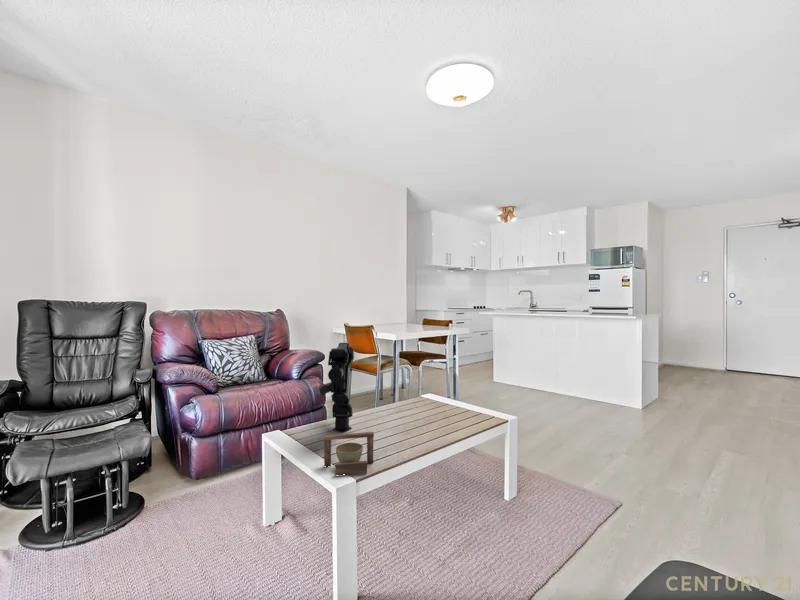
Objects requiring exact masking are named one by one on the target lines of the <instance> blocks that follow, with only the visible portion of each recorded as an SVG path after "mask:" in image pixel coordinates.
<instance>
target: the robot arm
mask: <svg viewBox="0 0 800 600" xmlns="http://www.w3.org/2000/svg"><path fill="white" fill-rule="evenodd" d="M353 360H355V352H354V348H353V347H352V346H351V345H350V343H349V342H338V346H336V348H335V347H333V348H331V349H330V350H329V354H328V362H327V365H328V366H331V368H330V370H329V371H328V373H327V377H328V379H329V380H330V382H327V383H325V384H322V385H319V386H318V390H319V394H320V395H321V396H324V395H326V394H327V393H332V394H331V395H330V396H331V402H333V404H332V407H331V410H332V412H331V413H332V418H333V419H334V418H335V421H334V427H333V428H332V430H333V431H337V432H340V433H344V432H346V431H349V430H351V429H352V427H351V426H350V419H351V418H352V417H353V406H352V405H351V402H350V400H349V398H348V387H349V374H350V373H349V371H350V368H351V366H352V365H353V362H354V361H353Z"/></svg>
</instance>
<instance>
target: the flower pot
mask: <svg viewBox="0 0 800 600" xmlns="http://www.w3.org/2000/svg"><path fill="white" fill-rule="evenodd" d="M363 448H364V445H362V444H361V443H359V442H344V443H341V444H338V445H337V446H336V447H335V451H336V452H335V453H336V457H337V460H338V463H345V462H356V461H361V459H362V454H363Z"/></svg>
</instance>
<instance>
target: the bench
mask: <svg viewBox="0 0 800 600" xmlns="http://www.w3.org/2000/svg"><path fill="white" fill-rule="evenodd" d="M360 438H361V439H362V438H366V460H359V461H356V462H345V463H340V462H336V463H335V465H334V466H335V471H334V472H335V474H336V475H343V474H345V475H346V476H354V475H357V476H358V475H364V474H366V475H367V473H368V471H367V470H368V464H373V463H374V438H375V433H374V431H367V432H366V431H364V432H363V431H362V432H350V433H349V432H348V433H337V434H336V433H335V434H325V435H323V439H324V440H323V441H324V442H323V443H324V444H323V445H324V446H323V450H324V451H323V453H324V455H323V457H324V458H323V462H324V463H323V466H326V467H325V468H329V467H328V466H330V467H331V466H332V441H333V440H345V439H346V440H347V439H360ZM336 475H335V476H336Z"/></svg>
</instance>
